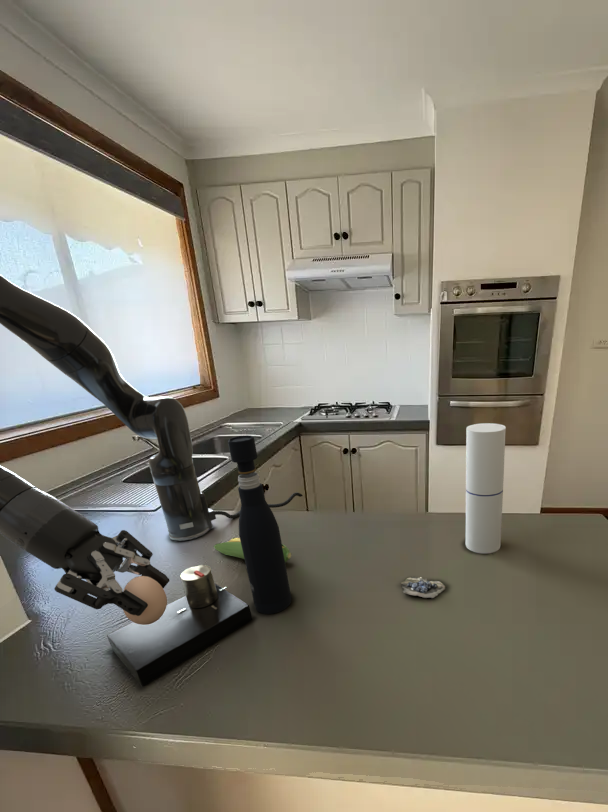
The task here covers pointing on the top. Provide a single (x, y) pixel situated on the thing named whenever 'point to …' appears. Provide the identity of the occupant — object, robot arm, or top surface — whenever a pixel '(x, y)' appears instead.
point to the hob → (177, 635)
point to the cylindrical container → (484, 486)
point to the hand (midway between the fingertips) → (155, 597)
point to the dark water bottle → (259, 533)
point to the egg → (147, 599)
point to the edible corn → (236, 550)
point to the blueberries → (422, 587)
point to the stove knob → (199, 586)
